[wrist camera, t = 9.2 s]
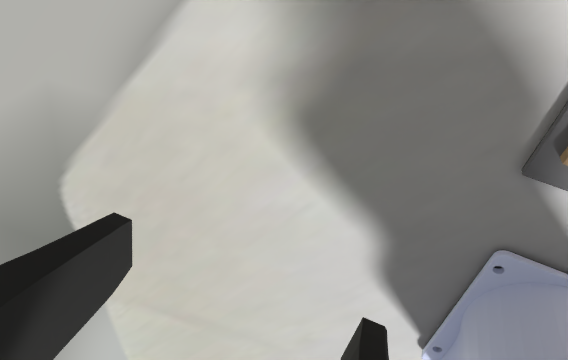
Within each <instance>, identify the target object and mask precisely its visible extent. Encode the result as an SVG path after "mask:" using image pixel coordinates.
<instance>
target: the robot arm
mask: <svg viewBox="0 0 568 360" xmlns="http://www.w3.org/2000/svg"><path fill="white" fill-rule="evenodd" d="M495 266H502V268H500V269H496V268H494V267H495ZM131 267H132V220H131V219H128V218H126V217H124V216H121V215H119V214H116V213H112V214H110V215H108V216H106V217H103V218H101V219H99V220H97V221H95V222H93V223H91V224H89V225H87V226H85V227H83V228H81V229H79V230H77V231H75V232H73V233H71V234H68V235H66V236H64V237H62V238H61V239H58V240H56V241H54V242H52V243H49V244H47V245H45V246H43V247H41V248H39V249H36V250H34V251H32V252H30V253H27V254H25V255H23V256H20V257H18V258H15V259H13V260H11V261H8V262H6V263H4V264H1V265H0V360H53V359H54V358H55V357H56V356H57V354H58V353H59V352H60V351H61V350H62V349H63V347H65V346H66V345H67V344H68V342H69V341H70V340H71V339H72V338H73V337H74V336H75V335H76V334H77V332H79V330H80V329H81V328H82V327H83V326H84V325H85V324H86V323H87V322H88V321H89V319H90V318H91V317H92V316H93V315H94V314H95V313H96V312H97V311H98V309H99V308H100V307H101V306H102V305H103V304H104V303H105V302H106V301H107V300H108V298H109V297H110V296H111V295H112V294H113V292H114V291H115V290H116V288H117V287H118V286H119V284H120V283H121V281H122V280H123V279H124V277H125V276H126V274H127V273H128V271H129V270H130V268H131ZM436 346H437V347H436ZM421 357H422V359H423V360H568V274H566V273H563V272H561V271H558V270H555V269H553V268H550V267H548V266H545V265H543V264H540V263H537V262H535V261H532V260H530V259H527V258H525V257H522V256H519V255H517V254H514V253H512V252H509V251H505V250H500V251H497V252H495V253H494V254H493V255H492V256H491V258H490V259H489V260H488V262H487V263H486V264H485V266H484V267H483V269H482V270H481V271H480V273H479V274H478V275H477V277H476V278H475V279H474V281H473V282H472V284H471V285H470V286H469V288H468V289H467V290H466V292H465V293H464V294H463V296H462V297H461V299H460V300H459V301H458V303H457V304H456V305H455V307H454V308H453V309H452V311H451V312H450V314H449V315H448V316H447V318H446V319H445V320H444V322H443V323H442V324H441V326H440V327H439V329H438V330H437V331H436V333H435V334H434V335H433V337H432V338H431V339H430V341H429V342H428V344H427V345H426V346H425V348H424V349H423V350H422V356H421ZM341 360H389V356H388V344H387V330H386V328H385V326H383V325H380V324H378V323H375V322H373V321H371V320H368V319H366V318H364V317H363V318H362V320H361V322H360V324H359V326H358V328H357V329H356V331H355V333H354V335H353V337H352V339H351V340H350V342H349V344H348V346H347V348H346V350H345V352H344V353H343V355H342V357H341Z"/></svg>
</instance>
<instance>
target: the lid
mask: <svg viewBox="0 0 568 360" xmlns="http://www.w3.org/2000/svg"><path fill="white" fill-rule="evenodd" d="M560 159H561V161H562V164H564V165H567V166H568V147H567V148H566V149H565V151H564V152H563V153H562V155H561V156H560Z"/></svg>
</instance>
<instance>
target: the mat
mask: <svg viewBox="0 0 568 360" xmlns="http://www.w3.org/2000/svg"><path fill="white" fill-rule="evenodd" d="M567 147H568V102H567V104H566V105H565V107H564V108H563V110H562V111H561V113H560V114H559V116H558V117H557V119H556V120H555V122H554V123H553V125H552V126H551V128H550V129H549V131H548V132H547V133H546V135H545V136H544V138H543V139H542V141H541V142H540V144H539V145H538V147H537V148H536V150H535V151H534V153H533V154H532V156H531V157H530V159H529V160H528V162H527V163H526V165H525V166H524V168H523V169H522V174H523V175H524V176H527V177H530V178H532V179H535V180H538V181H541V182H544V183H546V184H549V185H552V186H555V187H558V188H560V189H563V190H566V191H568V166H567V165H564V164H562V161H561V159H560V156H561V155H562V153H563V152H564V151H565V149H566V148H567Z"/></svg>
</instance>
